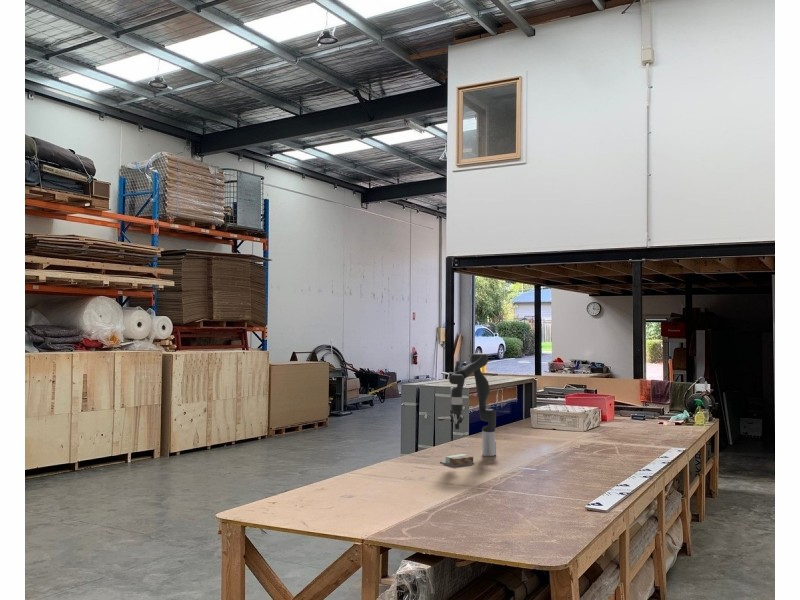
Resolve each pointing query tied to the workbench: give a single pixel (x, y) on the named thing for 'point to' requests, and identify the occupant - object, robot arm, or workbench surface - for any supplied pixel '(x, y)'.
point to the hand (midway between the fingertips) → (457, 429)
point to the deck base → (455, 465)
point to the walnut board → (461, 460)
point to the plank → (453, 456)
